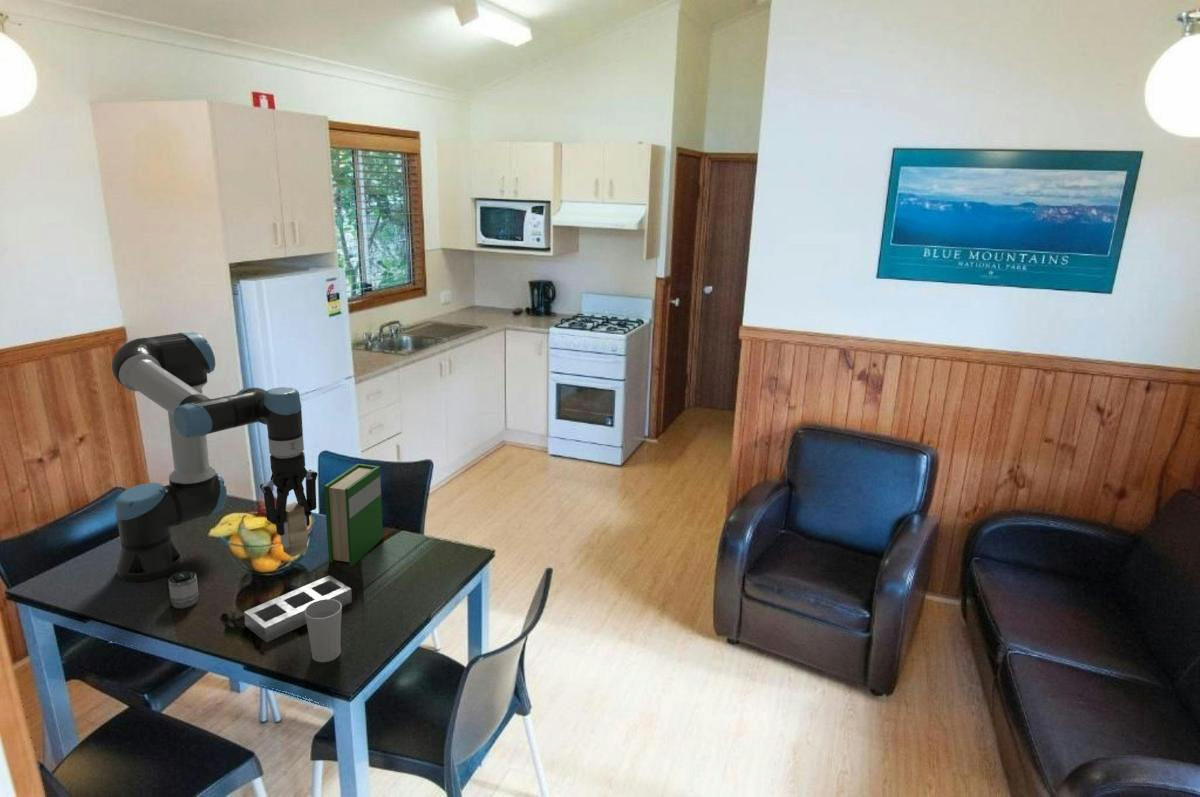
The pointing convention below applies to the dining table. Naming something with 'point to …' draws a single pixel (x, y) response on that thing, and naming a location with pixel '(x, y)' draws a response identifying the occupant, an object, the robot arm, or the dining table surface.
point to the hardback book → (353, 513)
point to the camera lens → (183, 589)
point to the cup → (324, 629)
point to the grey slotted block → (293, 608)
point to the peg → (296, 529)
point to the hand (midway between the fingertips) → (294, 541)
